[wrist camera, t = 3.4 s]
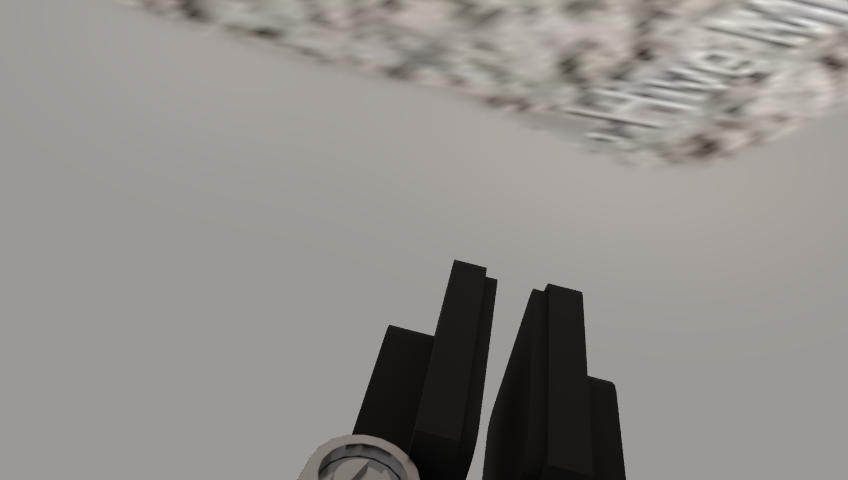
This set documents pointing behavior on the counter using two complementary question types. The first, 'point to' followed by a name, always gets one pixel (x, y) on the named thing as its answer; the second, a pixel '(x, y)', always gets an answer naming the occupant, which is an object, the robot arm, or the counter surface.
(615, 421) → the robot arm
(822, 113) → the counter surface
